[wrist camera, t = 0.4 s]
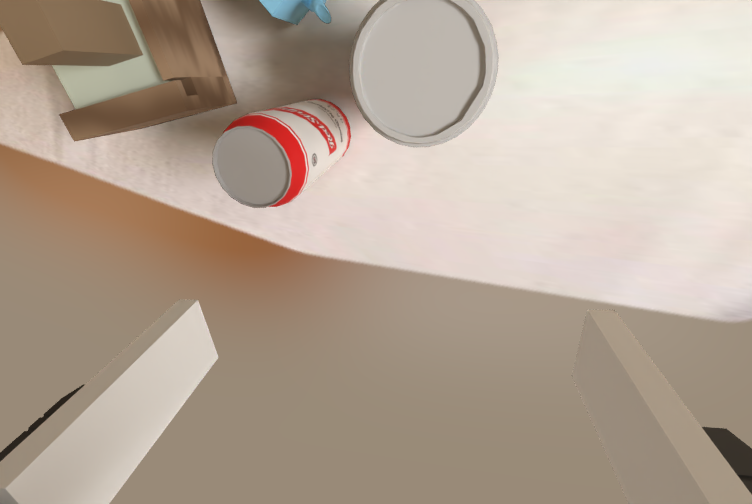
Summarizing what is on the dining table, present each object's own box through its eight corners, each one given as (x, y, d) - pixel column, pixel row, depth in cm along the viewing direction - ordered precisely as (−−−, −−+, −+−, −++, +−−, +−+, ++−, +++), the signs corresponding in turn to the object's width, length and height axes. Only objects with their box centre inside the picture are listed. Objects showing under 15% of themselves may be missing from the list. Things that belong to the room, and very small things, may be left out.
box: (73, -13, 34) (-26, -36, 26) (179, -55, 31) (102, -94, 24) (141, 128, 39) (74, 141, 32) (237, 103, 36) (187, 110, 29)
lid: (22, -10, 29) (-112, -37, 22) (121, -51, 27) (7, -96, 19) (92, 120, 33) (-2, 133, 26) (182, 94, 31) (107, 101, 24)
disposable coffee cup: (405, 145, 36) (393, 176, 25) (354, 53, 33) (316, 44, 22) (497, 91, 32) (527, 100, 22) (449, -17, 29) (457, -68, 19)
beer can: (317, 83, 34) (234, 91, 20) (365, 129, 36) (319, 167, 21) (281, 133, 37) (186, 170, 23) (327, 174, 38) (264, 234, 24)
